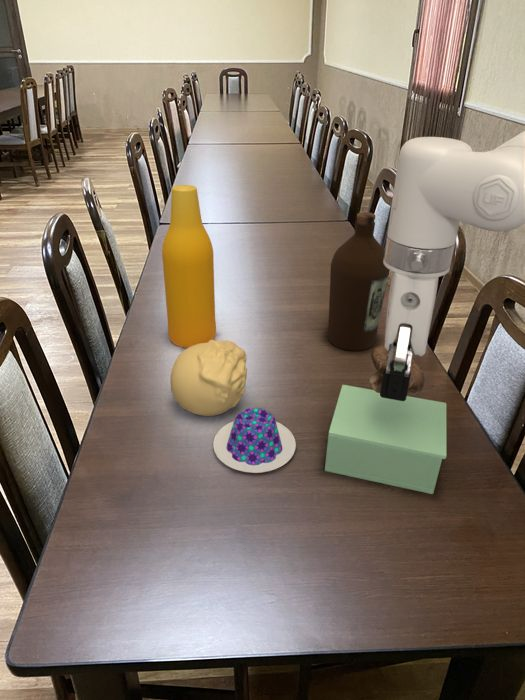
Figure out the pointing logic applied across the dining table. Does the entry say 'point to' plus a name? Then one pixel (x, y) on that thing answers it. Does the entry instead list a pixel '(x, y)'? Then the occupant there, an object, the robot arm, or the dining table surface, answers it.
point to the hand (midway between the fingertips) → (395, 379)
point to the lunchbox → (382, 464)
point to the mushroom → (380, 362)
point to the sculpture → (209, 377)
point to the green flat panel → (390, 421)
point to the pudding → (254, 442)
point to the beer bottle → (188, 272)
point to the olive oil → (357, 288)
